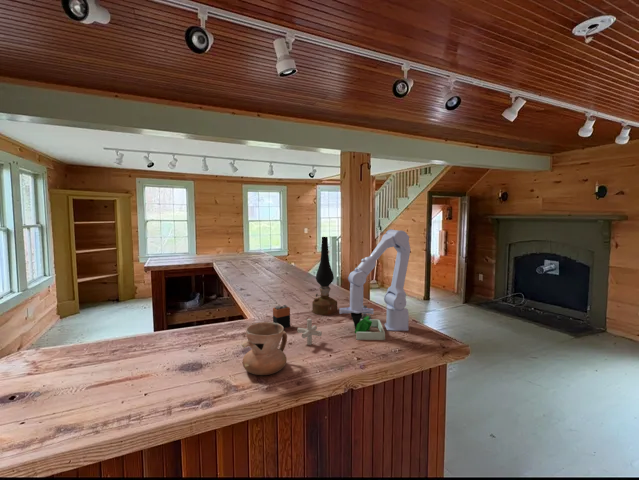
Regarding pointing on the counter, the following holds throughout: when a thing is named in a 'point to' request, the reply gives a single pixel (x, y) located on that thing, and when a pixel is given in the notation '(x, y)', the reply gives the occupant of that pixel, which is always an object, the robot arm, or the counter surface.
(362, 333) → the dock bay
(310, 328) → the pipe connector
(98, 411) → the counter surface
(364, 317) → the pin mount
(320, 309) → the oil lamp
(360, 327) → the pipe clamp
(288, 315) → the battery
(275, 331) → the ceramic jug
